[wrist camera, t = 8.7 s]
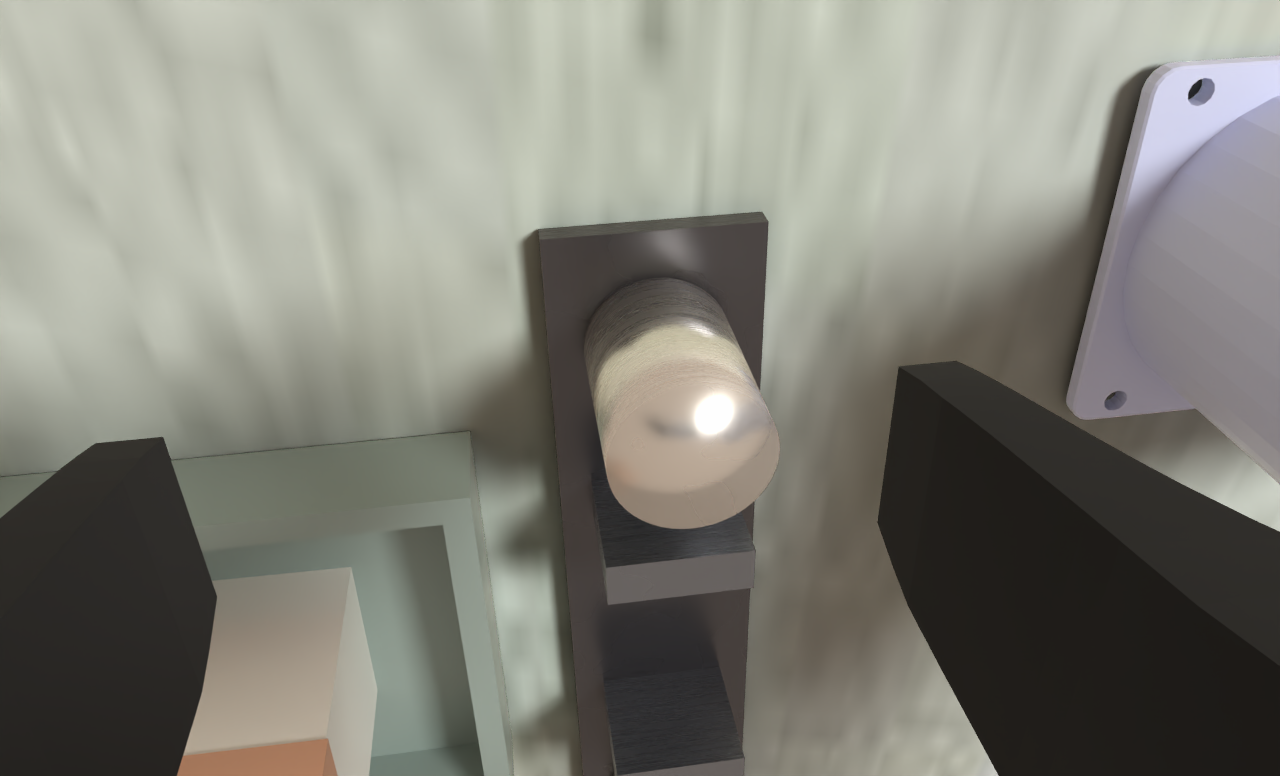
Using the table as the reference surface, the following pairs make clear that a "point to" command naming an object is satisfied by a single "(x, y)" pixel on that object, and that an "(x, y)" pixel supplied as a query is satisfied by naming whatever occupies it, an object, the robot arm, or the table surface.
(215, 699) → the beige and orange block
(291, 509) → the tray
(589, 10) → the table surface
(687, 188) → the table surface
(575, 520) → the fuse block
